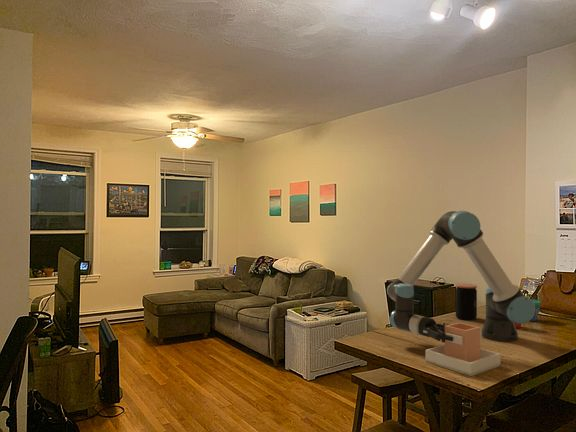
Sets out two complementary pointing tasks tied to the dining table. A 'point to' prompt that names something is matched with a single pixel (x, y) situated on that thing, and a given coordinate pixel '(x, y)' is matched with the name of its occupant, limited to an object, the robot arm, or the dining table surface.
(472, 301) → the coffee jar
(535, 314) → the snack cup
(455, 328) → the box
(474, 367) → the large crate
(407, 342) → the dining table surface
